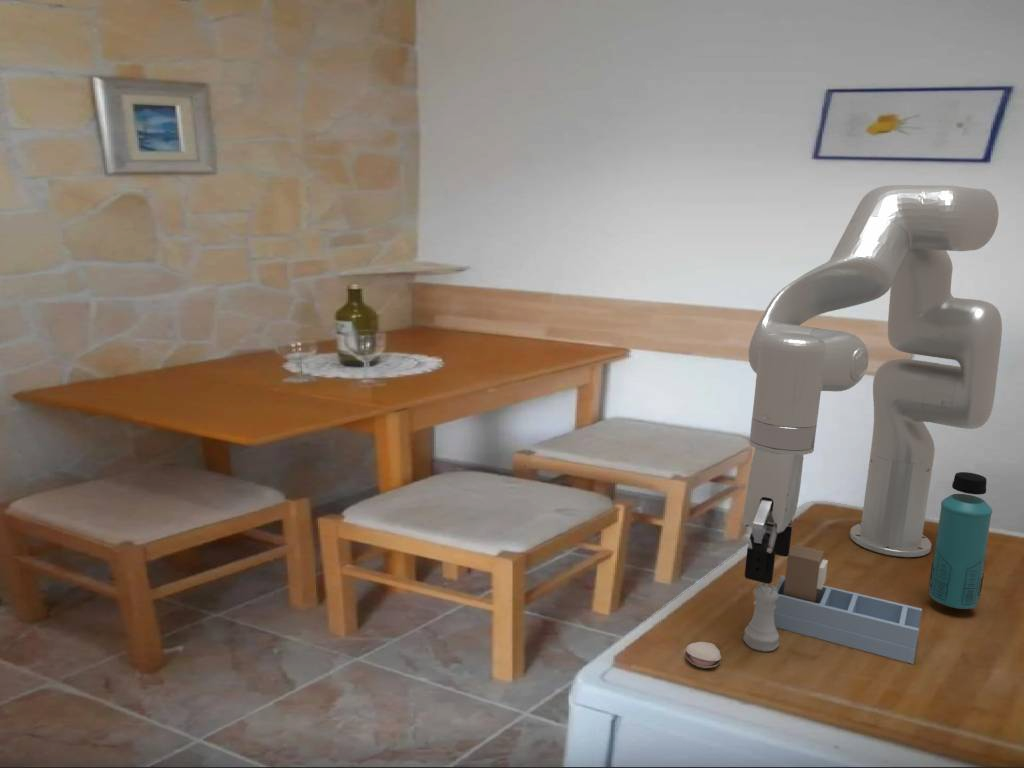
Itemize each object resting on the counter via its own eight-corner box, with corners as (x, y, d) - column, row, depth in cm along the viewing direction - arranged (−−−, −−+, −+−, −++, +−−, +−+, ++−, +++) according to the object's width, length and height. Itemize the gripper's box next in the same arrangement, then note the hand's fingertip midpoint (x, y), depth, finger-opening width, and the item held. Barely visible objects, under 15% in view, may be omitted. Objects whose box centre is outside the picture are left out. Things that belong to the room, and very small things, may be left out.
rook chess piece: (786, 650, 104) (792, 593, 103) (755, 655, 103) (761, 596, 101) (765, 633, 109) (771, 577, 107) (736, 637, 107) (741, 581, 106)
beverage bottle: (984, 622, 113) (1007, 484, 109) (932, 616, 115) (953, 480, 110) (968, 600, 120) (989, 469, 115) (919, 595, 121) (938, 465, 117)
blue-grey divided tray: (777, 604, 117) (785, 538, 115) (917, 639, 108) (928, 569, 106) (766, 624, 111) (773, 555, 109) (913, 664, 102) (924, 590, 100)
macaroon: (679, 664, 101) (681, 646, 100) (695, 647, 105) (697, 629, 104) (713, 676, 98) (715, 657, 98) (728, 658, 102) (730, 640, 102)
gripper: (767, 417, 109) (753, 538, 112) (733, 445, 94) (718, 583, 97) (826, 426, 105) (810, 551, 109) (800, 456, 90) (783, 600, 94)
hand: (767, 566), depth 103 cm, fingers open, 9 cm apart
